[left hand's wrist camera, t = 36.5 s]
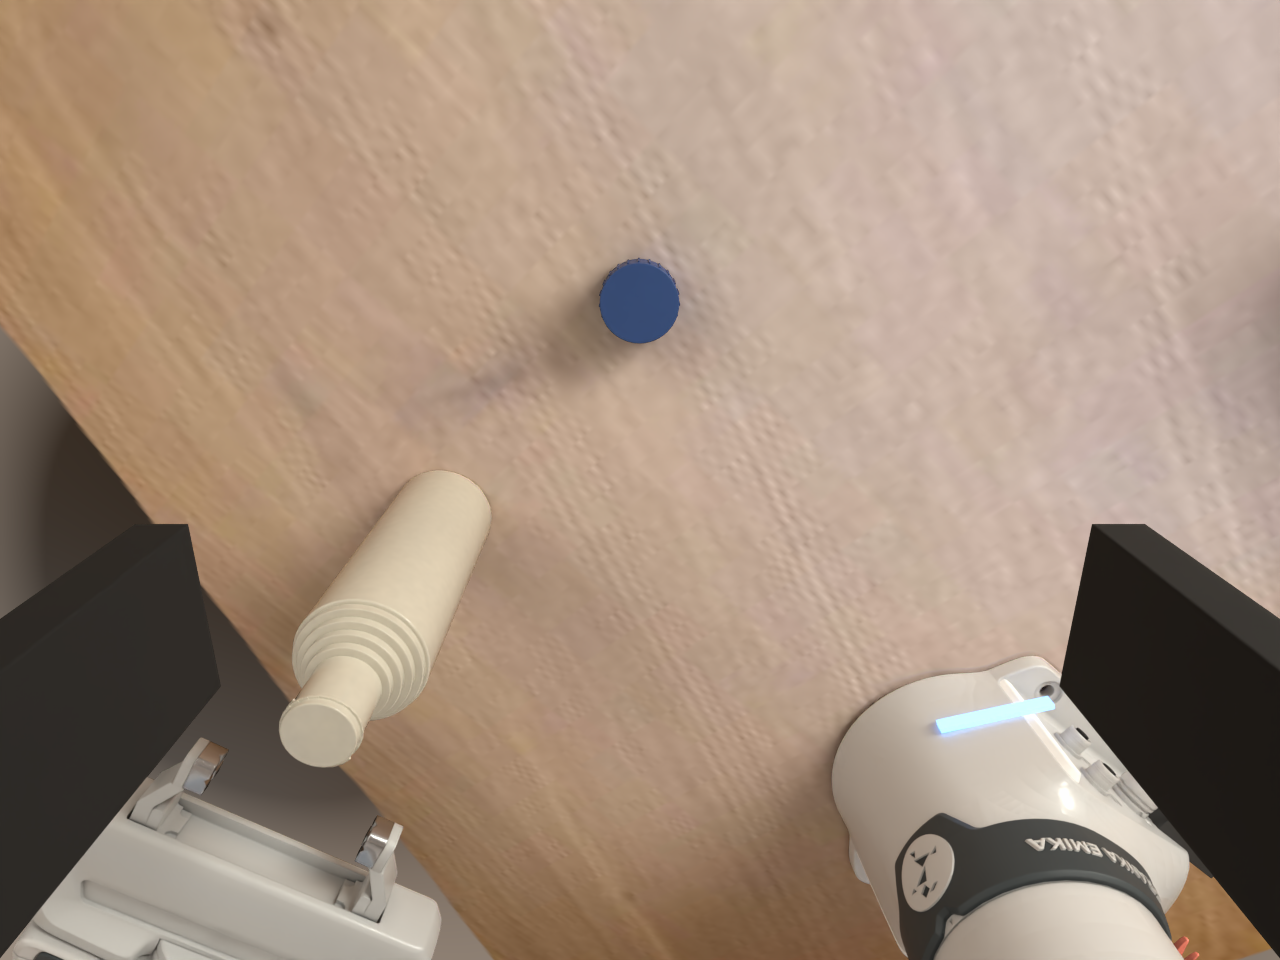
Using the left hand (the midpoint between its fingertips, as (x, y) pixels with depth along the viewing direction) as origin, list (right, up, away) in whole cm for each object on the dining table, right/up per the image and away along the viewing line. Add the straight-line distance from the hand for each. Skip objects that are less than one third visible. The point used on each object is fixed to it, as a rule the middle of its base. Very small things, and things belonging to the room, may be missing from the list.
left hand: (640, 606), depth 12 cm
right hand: (-17, -13, +29) cm, 36 cm away
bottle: (-11, 0, +35) cm, 36 cm away
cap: (0, +11, +29) cm, 31 cm away
